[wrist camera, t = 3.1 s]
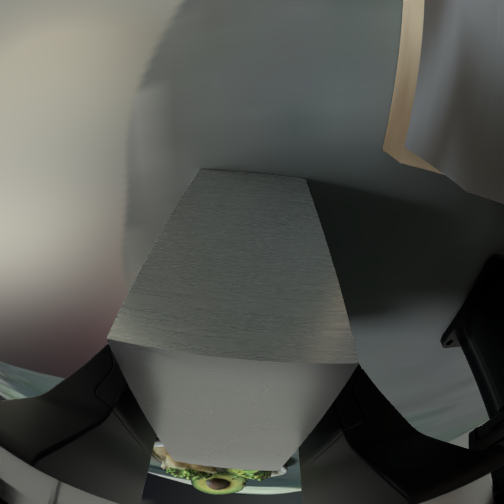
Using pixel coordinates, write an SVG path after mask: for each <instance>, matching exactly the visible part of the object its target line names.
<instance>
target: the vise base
mask: <svg viewBox="0 0 504 504" xmlns="http://www.w3.org/2000/svg"><path fill="white" fill-rule="evenodd" d="M382 150H384V151H385V152H386V153H388V154H389V155H390V156H392V157H393V158H394V159H396V160H397V161H398V162H400V163H402V164H406V165H410V166H414V167H418V168H422V169H425V170H429V171H433V172H436V173H440V174H443V175H445V176H447V177H448V178H449V179H451V180H452V181H453V182H455V183H456V184H457V185H459V186H460V187H461V188H462V189H464V190H465V191H466V192H468V193H471V194H474V195H478V196H481V197H484V198H487V199H490V200H493V201H496V202H498V203H501V204H504V0H403V14H402V27H401V38H400V48H399V56H398V64H397V72H396V79H395V85H394V92H393V98H392V103H391V109H390V114H389V120H388V125H387V130H386V135H385V139H384V144H383V149H382Z"/></svg>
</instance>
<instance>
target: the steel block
mask: <svg viewBox="0 0 504 504" xmlns="http://www.w3.org/2000/svg"><path fill="white" fill-rule="evenodd" d="M107 340H108V343H109V345H110V347H111V350H112V352H113V354H114V356H115V358H116V361H117V363H118V365H119V367H120V369H121V371H122V373H123V375H124V377H125V379H126V381H127V383H128V385H129V387H130V389H131V391H132V393H133V395H134V397H135V398H136V400H137V402H138V404H139V406H140V408H141V409H142V411H143V413H144V415H145V416H146V418H147V420H148V421H149V423H150V425H151V426H152V428H153V430H154V431H155V433H156V435H157V436H158V438H159V439H160V441H161V443H162V444H163V446H164V447H165V449H166V450H167V452H168V453H169V455H170V456H171V458H172V459H173V461H178V462H184V463H190V464H196V465H203V466H211V467H220V468H230V469H243V470H263V471H279V470H280V468H281V467H282V466H283V465H284V464H285V463H286V462H287V461H288V459H289V458H290V457H291V456H292V455H293V454H294V452H295V451H296V450H297V449H298V448H299V446H300V445H301V444H302V443H303V442H304V440H305V439H306V438H307V437H308V435H309V434H310V433H311V431H312V430H313V429H314V428H315V426H316V425H317V424H318V422H319V421H320V420H321V418H322V417H323V416H324V414H325V413H326V412H327V410H328V409H329V407H330V406H331V405H332V403H333V402H334V400H335V399H336V398H337V396H338V395H339V393H340V392H341V390H342V389H343V387H344V386H345V384H346V383H347V381H348V380H349V378H350V377H351V375H352V374H353V372H354V370H355V369H356V367H357V366H358V364H359V361H358V357H357V352H356V348H355V344H354V339H353V335H352V331H351V327H350V323H349V319H348V315H347V312H346V308H345V304H344V300H343V297H342V293H341V289H340V286H339V282H338V279H337V275H336V272H335V268H334V265H333V261H332V258H331V255H330V252H329V248H328V245H327V242H326V239H325V235H324V232H323V229H322V226H321V223H320V220H319V217H318V214H317V211H316V208H315V205H314V202H313V199H312V196H311V193H310V191H309V188H308V185H307V182H306V179H304V178H296V177H288V176H279V175H270V174H260V173H249V172H237V171H225V170H210V169H200V170H199V171H198V173H197V174H196V176H195V177H194V179H193V181H192V182H191V184H190V185H189V187H188V189H187V190H186V192H185V193H184V195H183V197H182V198H181V200H180V201H179V203H178V205H177V206H176V208H175V210H174V211H173V213H172V215H171V216H170V218H169V220H168V221H167V223H166V225H165V227H164V228H163V230H162V232H161V233H160V235H159V237H158V239H157V241H156V242H155V244H154V246H153V248H152V249H151V251H150V253H149V255H148V257H147V259H146V260H145V262H144V264H143V266H142V268H141V270H140V272H139V273H138V275H137V277H136V279H135V281H134V283H133V285H132V287H131V289H130V291H129V293H128V295H127V297H126V299H125V301H124V303H123V305H122V307H121V309H120V311H119V313H118V315H117V317H116V320H115V321H114V324H113V326H112V328H111V330H110V332H109V334H108V337H107Z"/></svg>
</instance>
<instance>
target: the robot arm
mask: <svg viewBox="0 0 504 504" xmlns="http://www.w3.org/2000/svg"><path fill="white" fill-rule="evenodd" d="M440 342H441V344H442V346H443V348H449V347H459V346H461V348H462V350H463V352H464V355H465V357H466V359H467V361H468V364H469V366H470V368H471V371H472V373H473V375H474V378H475V380H476V383H477V385H478V388H479V391H480V393H481V396H482V399H483V401H484V404H485V407H486V410H487V413H488V416H489V419H490V420H489V421H487V422H486V423H485V424H483V425H482V426H480V427H477V428H475V429H474V430H473V431H471V432H470V433H469V449H467V448H463V447H460V446H457V445H453V444H450V443H447V442H444V441H441V440H438V439H435V438H432V437H429V436H426V435H424V434H422V433H420V432H419V431H417V430H416V429H415V428H413V427H412V426H411V425H410V424H409V423H408V422H407V421H406V419H405V418H404V417H403V416H402V415H401V414H400V413H399V412H398V411H397V410H396V409H395V407H394V406H393V405H392V404H391V403H390V402H389V401H388V400H387V399H386V398H385V396H384V395H383V394H382V393H381V392H380V391H379V389H378V388H377V387H376V386H375V384H374V383H373V382H372V381H371V379H370V378H369V377H368V375H367V374H366V373H365V371H364V370H363V369H361V366H360V365H359V364H358V366H357V367H356V369H355V370H354V372H353V374H352V375H351V377H350V378H349V380H348V381H347V383H346V384H345V386H344V387H343V389H342V390H341V392H340V393H339V395H338V396H337V398H336V399H335V400H334V402H333V403H332V405H331V406H330V407H329V409H328V410H327V412H326V413H325V414H324V416H323V417H322V418H321V420H320V421H319V422H318V424H317V425H316V426H315V428H314V429H313V430H312V431H311V433H310V434H309V435H308V437H307V438H306V439H305V440H304V442H303V443H302V444H301V445H300V446H299V459H300V470H301V472H300V473H301V486H302V501H303V504H504V256H502V255H494V256H492V257H491V258H490V260H489V261H488V263H487V265H486V267H485V269H484V270H483V272H482V274H481V276H480V278H479V280H478V281H477V283H476V285H475V287H474V288H473V290H472V292H471V294H470V295H469V297H468V299H467V300H466V302H465V303H464V305H463V307H462V308H461V310H460V311H459V313H458V315H457V316H456V318H455V319H454V321H453V322H452V324H451V325H450V326H449V328H448V329H447V331H446V332H445V334H444V335H443V336H442V338H441V340H440ZM156 436H157V435H156V433H155V431H154V430H153V428H152V426H151V425H150V423H149V421H148V420H147V418H146V416H145V415H144V413H143V411H142V409H141V408H140V406H139V404H138V402H137V400H136V398H135V397H134V395H133V393H132V391H131V389H130V387H129V385H128V383H127V381H126V379H125V377H124V375H123V373H122V371H121V369H120V367H119V365H118V363H117V361H116V358H115V356H114V354H113V352H112V350H111V347H110V345H108V344H107V345H106V346H105V347H104V348H103V349H101V350H100V351H99V352H98V353H97V354H96V355H95V356H94V357H92V358H91V359H90V360H89V361H88V362H87V363H85V364H84V365H83V366H81V367H80V368H79V369H78V370H77V371H75V372H74V373H72V374H71V375H70V376H68V377H67V378H66V379H64V380H63V381H62V382H60V383H59V384H58V385H56V386H55V387H54V388H52V389H51V390H49V391H48V392H46V393H44V394H42V395H39V396H36V397H29V398H22V399H13V400H4V401H0V504H117V503H118V504H140V501H141V497H142V493H143V488H144V484H145V480H146V476H147V472H148V468H149V464H150V460H151V455H152V452H153V448H154V444H155V440H156Z"/></svg>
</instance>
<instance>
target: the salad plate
mask: <svg viewBox="0 0 504 504" xmlns="http://www.w3.org/2000/svg"><path fill="white" fill-rule="evenodd" d="M150 461H154V462H156V463H160V464H162V466H161V467H162V468H163V467H164V468H163V469H164V470H165V469H167V472H166V473H171V474H172V475H174V476H175V477H182V478H186V479H188V480H189V479H191V483H192V485H193V486H194V487H195V488H196V489H198V490H200V491H202V492H205V493H210V494H230V493H235V492H238V491H241V490H242V489H243V488H244V487H246V484H245V483H246V482H247V479H249V478H250V479H252V480H253V479H257V480H259V481H262V480H264V479H266V478H270V477H271V476H279V475H283V474H285V473H286V472H287V465H286V463H285V464H284V465H283V466H282V467H281V468H280V470H279V471H263V470H243V469H230V468H220V467H211V466H203V465H196V464H190V463H184V462H178V461H173V459H172V458H171V456H170V455H169V453H168V452H167V450H166V449H165V447H164V446H163V444H162V443H161V441H160V439H156V440H155V444H154V448H153V452H152V455H151V460H150Z"/></svg>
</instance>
